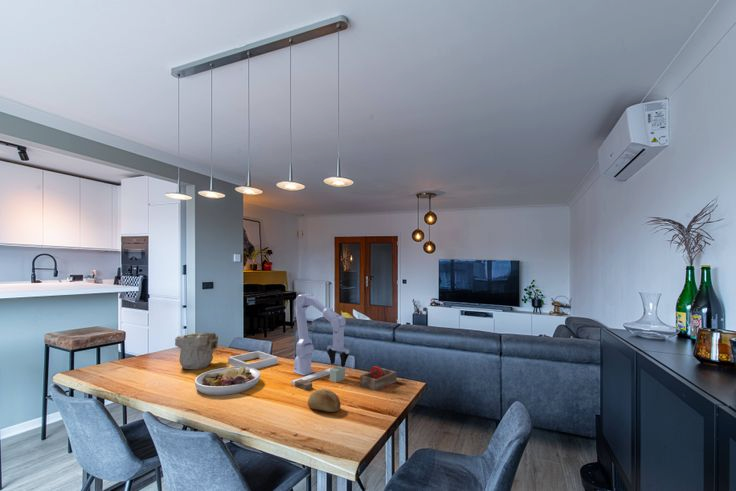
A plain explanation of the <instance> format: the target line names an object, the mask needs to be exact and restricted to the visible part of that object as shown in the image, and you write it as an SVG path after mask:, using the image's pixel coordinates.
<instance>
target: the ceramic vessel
mask: <svg viewBox="0 0 736 491" xmlns="http://www.w3.org/2000/svg"><path fill="white" fill-rule="evenodd" d="M174 342H175V343H174V346H176V347H178V348H180V349H179V350H180V352H179V364H180V366H181V367H182V369H185V370H202V369H205V368H206V367H208V366H209V365H210V364H211V363H212V362H213V359H214V355H213V354H214V351H215V350H216V349H218V343H219V336H218V335H217V334H216V333H215V331H213V332H207V331H205V332H200V333H199V332H198V333H190V334H185V335H183V336H182V335H181V336H180V335H178V336H176V337H175V340H174Z"/></svg>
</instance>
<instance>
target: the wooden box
mask: <svg viewBox="0 0 736 491" xmlns="http://www.w3.org/2000/svg"><path fill="white" fill-rule="evenodd" d="M379 368H380V369H381V370H382V377H380V378H378V379H373V374H375V375H376V376H377V375H378V372H377V371H374V372H370V371H369V372H366V373H364V374H362V375H360V376H359V377H360V380H359V386H361V387H363V388H366V389H369V390H372V391H375V392H377V391H380V390H382V389H384V388H387V387H386V385H388V384H390V383H391V385H392V384H395V383H396V382H397V371H393V370H390V369H387V368H384V367H379Z"/></svg>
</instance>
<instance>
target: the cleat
mask: <svg viewBox="0 0 736 491" xmlns="http://www.w3.org/2000/svg"><path fill="white" fill-rule="evenodd" d="M294 387H295V388H298V389H300V390H304V391H309V390H312V389H313V383H312V382H311V381H309V382H308V381H305V380H302V379H300V380H297V381H295V385H294Z"/></svg>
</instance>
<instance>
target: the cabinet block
mask: <svg viewBox="0 0 736 491" xmlns="http://www.w3.org/2000/svg"><path fill="white" fill-rule="evenodd" d="M329 369H330V368H329ZM345 379H346V367H345V366H344V367H341V365H338V366H336V367H332V369H330V374H329V381H330V382H333V383H339V382H342V381H343V380H345Z"/></svg>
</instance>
